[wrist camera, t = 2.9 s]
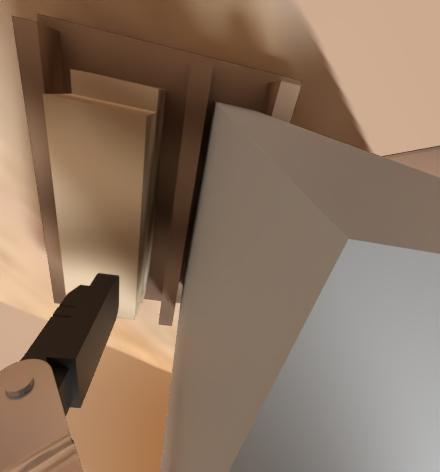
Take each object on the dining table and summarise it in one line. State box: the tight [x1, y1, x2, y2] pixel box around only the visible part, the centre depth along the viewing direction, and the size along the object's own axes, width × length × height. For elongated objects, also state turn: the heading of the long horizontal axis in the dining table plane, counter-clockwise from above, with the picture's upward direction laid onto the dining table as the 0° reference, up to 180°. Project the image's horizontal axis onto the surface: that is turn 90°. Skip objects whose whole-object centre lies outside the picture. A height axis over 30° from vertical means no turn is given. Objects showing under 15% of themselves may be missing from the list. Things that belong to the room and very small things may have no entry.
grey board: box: [160, 101, 440, 472], centre depth 11 cm, size 14×2×16 cm, turn 168°
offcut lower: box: [70, 69, 166, 303], centre depth 16 cm, size 14×4×2 cm, turn 168°
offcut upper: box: [43, 94, 157, 320], centre depth 14 cm, size 12×4×2 cm, turn 168°
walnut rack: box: [12, 14, 302, 326], centre depth 17 cm, size 18×14×4 cm
